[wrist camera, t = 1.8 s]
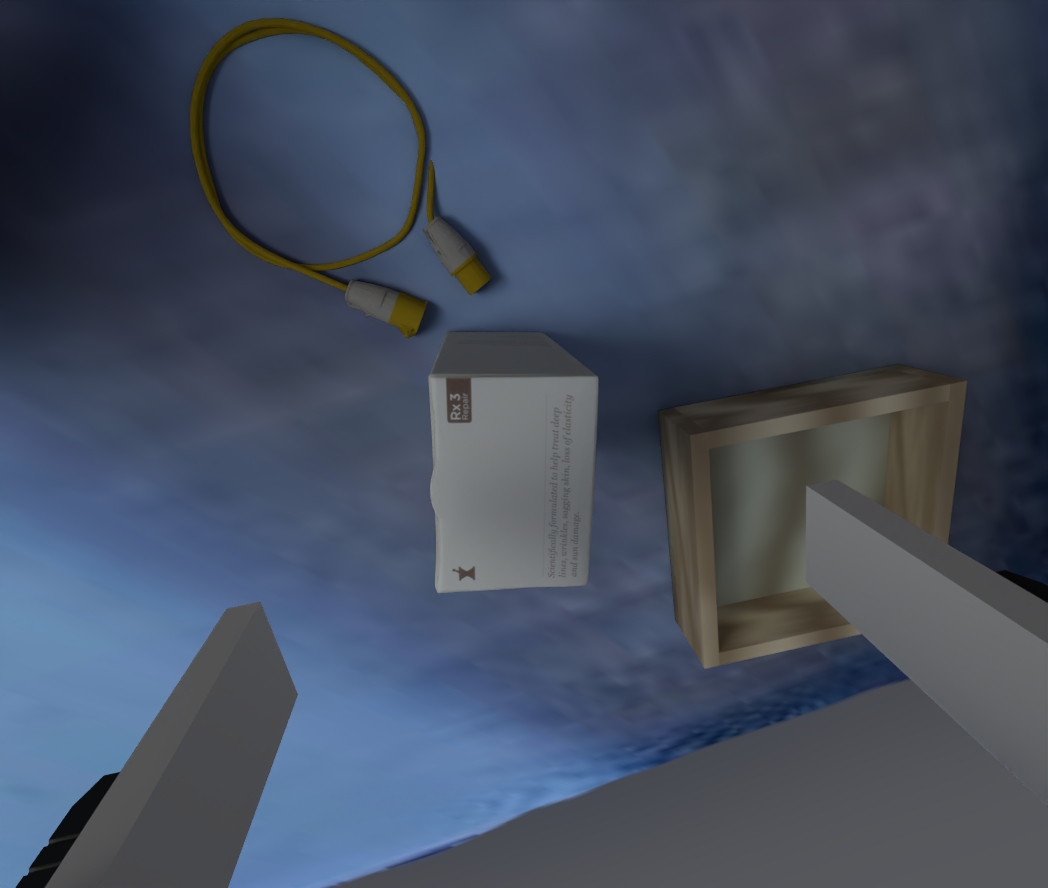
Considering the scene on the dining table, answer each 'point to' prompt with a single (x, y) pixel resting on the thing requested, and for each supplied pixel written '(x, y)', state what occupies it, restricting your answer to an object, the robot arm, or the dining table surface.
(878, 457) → the birch box
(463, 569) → the skincare box
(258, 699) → the robot arm
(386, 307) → the extension cord
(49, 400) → the dining table surface
